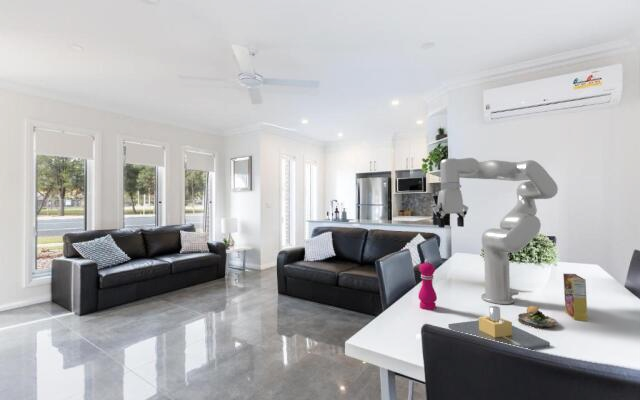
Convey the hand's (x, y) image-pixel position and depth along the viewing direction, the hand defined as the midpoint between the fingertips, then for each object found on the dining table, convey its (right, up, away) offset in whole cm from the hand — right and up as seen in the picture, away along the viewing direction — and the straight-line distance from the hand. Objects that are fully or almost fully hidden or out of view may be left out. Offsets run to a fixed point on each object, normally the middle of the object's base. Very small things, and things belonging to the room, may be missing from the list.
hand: (451, 226), depth 131 cm
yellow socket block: (0, -31, -33) cm, 45 cm away
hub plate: (0, -33, -33) cm, 46 cm away
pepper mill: (-12, -33, -5) cm, 36 cm away
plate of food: (+21, -33, -22) cm, 45 cm away
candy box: (+40, -33, -17) cm, 54 cm away
